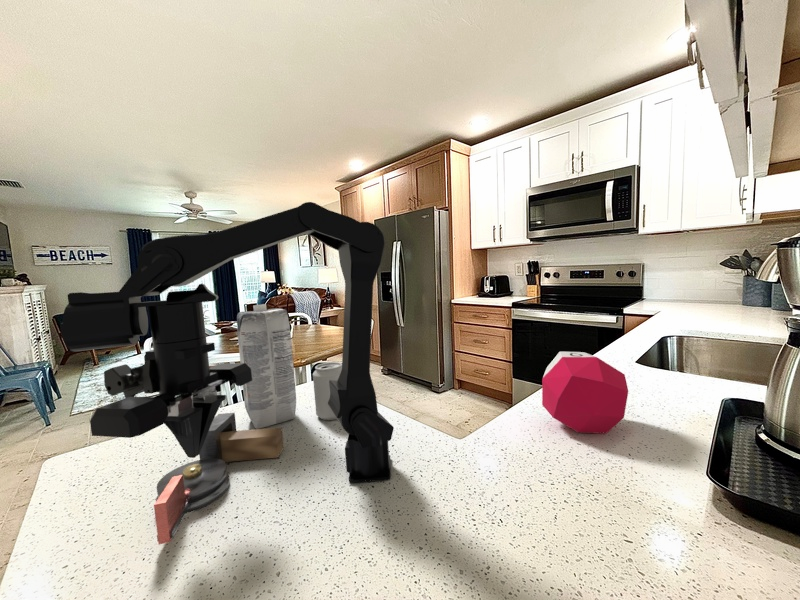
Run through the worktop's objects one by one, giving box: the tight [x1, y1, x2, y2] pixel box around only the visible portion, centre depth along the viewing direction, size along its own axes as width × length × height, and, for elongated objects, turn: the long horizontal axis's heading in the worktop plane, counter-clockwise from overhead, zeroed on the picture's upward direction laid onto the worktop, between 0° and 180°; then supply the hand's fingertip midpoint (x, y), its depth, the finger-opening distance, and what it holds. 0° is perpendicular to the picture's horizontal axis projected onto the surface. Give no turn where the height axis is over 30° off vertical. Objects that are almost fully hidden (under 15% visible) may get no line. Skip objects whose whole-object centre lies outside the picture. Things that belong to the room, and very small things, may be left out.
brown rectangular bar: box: [220, 426, 285, 463], centre depth 61 cm, size 14×4×4 cm, turn 93°
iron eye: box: [198, 412, 237, 460], centre depth 60 cm, size 3×8×7 cm, turn 2°
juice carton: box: [236, 303, 297, 429], centre depth 76 cm, size 9×10×27 cm
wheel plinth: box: [155, 471, 231, 515], centre depth 51 cm, size 10×10×1 cm
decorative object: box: [541, 351, 629, 435], centre depth 64 cm, size 15×15×15 cm
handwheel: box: [153, 458, 228, 545], centre depth 47 cm, size 16×9×5 cm, turn 17°
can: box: [312, 361, 342, 421], centre depth 77 cm, size 8×8×12 cm
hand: (193, 456), depth 43 cm, fingers closed
